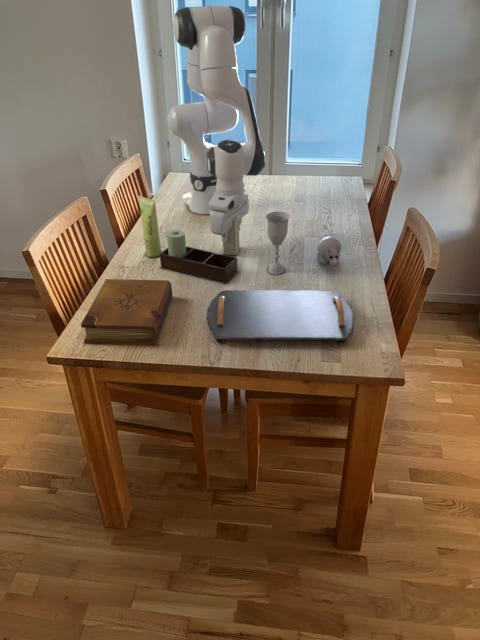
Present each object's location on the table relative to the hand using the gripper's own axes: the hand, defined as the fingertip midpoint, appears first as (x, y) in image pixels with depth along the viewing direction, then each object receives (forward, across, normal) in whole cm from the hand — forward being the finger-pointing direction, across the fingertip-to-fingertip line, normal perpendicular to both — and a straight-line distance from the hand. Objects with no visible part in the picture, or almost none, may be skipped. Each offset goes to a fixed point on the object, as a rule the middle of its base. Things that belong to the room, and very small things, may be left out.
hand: (231, 236), depth 170 cm
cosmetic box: (+6, 0, 0) cm, 6 cm away
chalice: (+6, +5, +18) cm, 20 cm away
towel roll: (+6, +15, -11) cm, 20 cm away
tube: (+6, +12, -23) cm, 26 cm away
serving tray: (+5, +31, +30) cm, 43 cm away
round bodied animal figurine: (+6, -5, +32) cm, 33 cm away
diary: (+6, +47, -6) cm, 48 cm away
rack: (+6, +15, -4) cm, 17 cm away
